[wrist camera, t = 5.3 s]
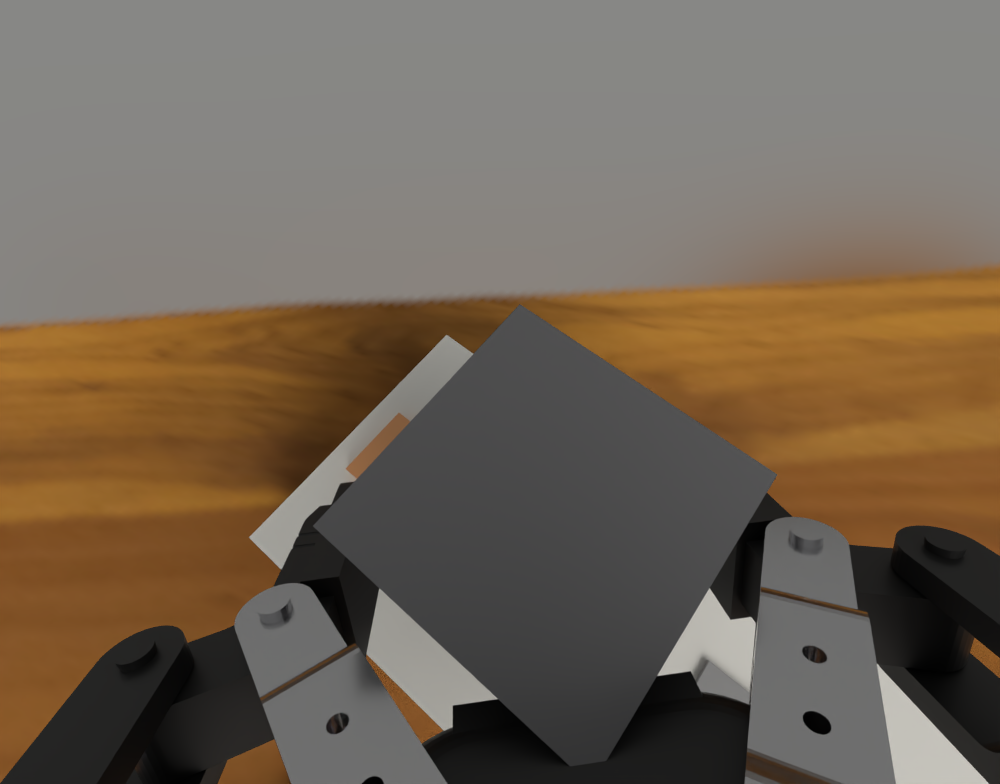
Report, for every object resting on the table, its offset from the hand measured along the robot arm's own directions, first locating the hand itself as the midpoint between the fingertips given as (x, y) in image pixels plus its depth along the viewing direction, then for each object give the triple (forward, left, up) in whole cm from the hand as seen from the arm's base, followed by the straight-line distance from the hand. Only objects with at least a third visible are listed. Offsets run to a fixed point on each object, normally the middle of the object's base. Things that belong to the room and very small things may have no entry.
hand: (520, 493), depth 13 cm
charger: (+1, +1, -6) cm, 6 cm away
